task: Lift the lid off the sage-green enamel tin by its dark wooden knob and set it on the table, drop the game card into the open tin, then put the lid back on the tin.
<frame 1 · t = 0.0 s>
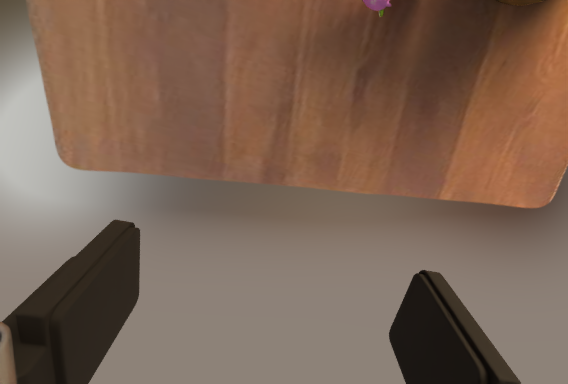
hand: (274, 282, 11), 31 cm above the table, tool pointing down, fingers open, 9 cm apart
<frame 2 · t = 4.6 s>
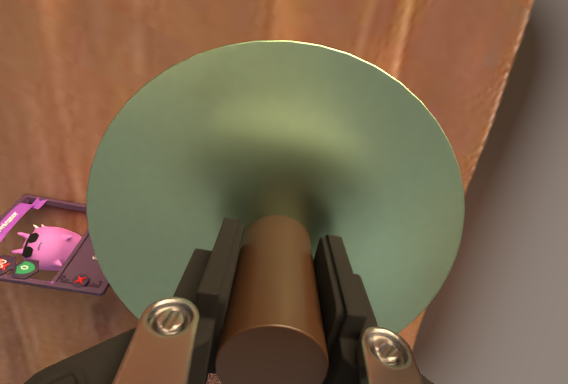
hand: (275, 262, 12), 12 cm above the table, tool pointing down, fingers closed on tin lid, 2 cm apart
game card: (89, 228, 25), on the table
tin lid: (276, 238, 13), point 11 cm above the table, touching gripper, tin
when the fingers open (2 cm above the table, at t = 11.6 s): tin lid stays where it is, point 1 cm above the table.
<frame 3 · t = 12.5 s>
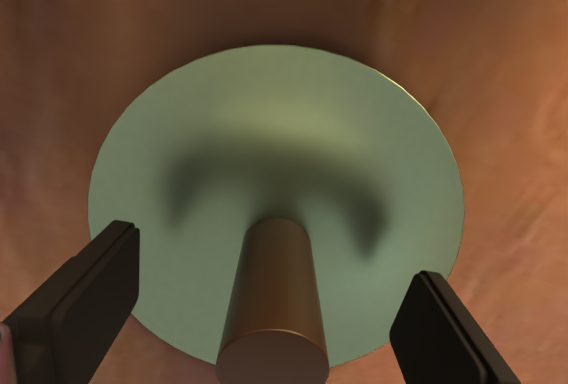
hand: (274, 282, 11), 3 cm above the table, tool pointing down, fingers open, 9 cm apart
tin lid: (276, 240, 13), point 1 cm above the table
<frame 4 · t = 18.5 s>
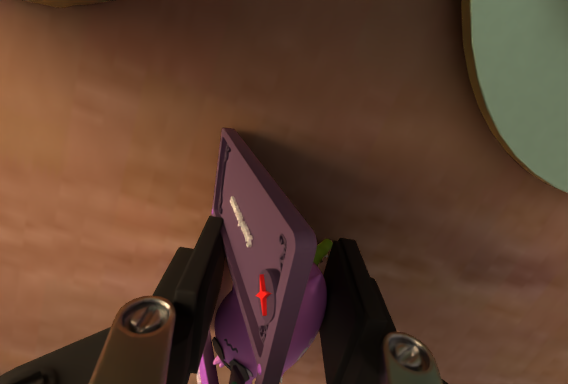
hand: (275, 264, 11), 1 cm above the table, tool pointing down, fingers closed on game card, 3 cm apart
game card: (268, 245, 13), on the table, touching gripper
when the fingers open (9 cm above the table, at t = 24.1 s): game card drops 8 cm, resting on tin.
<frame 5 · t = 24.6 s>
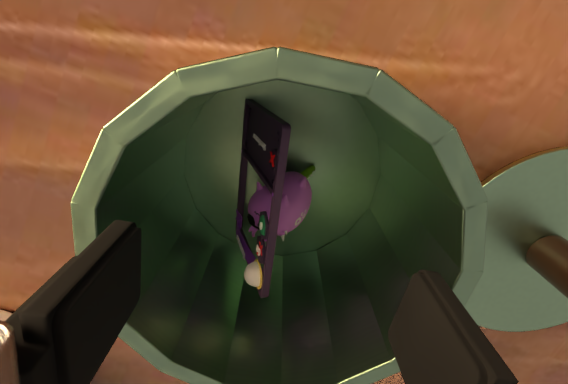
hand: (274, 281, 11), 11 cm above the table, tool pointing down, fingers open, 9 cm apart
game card: (276, 173, 20), resting on tin
tin lid: (541, 248, 22), point 1 cm above the table
tin: (282, 170, 21), on the table
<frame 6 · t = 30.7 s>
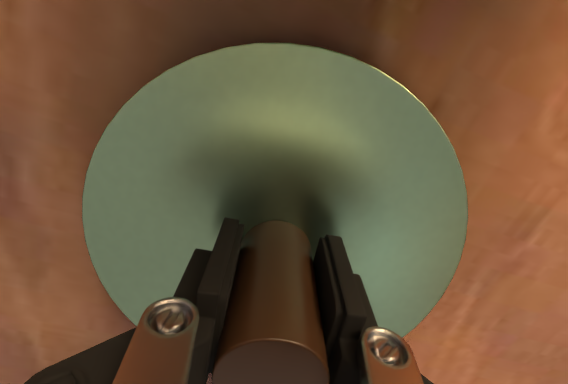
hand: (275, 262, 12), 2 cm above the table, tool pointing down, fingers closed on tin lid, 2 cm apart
tin lid: (276, 243, 13), point 1 cm above the table, touching gripper
when the fingers open (12 cm above the table, at t = 37.7 s): tin lid stays where it is, resting on tin.
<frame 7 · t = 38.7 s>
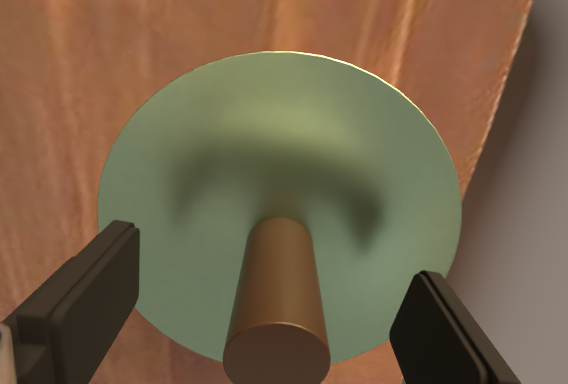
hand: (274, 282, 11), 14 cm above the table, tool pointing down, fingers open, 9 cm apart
tin lid: (279, 240, 14), point 10 cm above the table, touching tin
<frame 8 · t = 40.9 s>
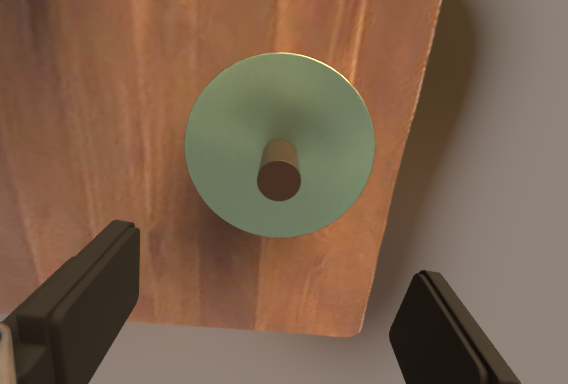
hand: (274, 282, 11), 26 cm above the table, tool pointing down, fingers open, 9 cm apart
tin lid: (279, 154, 25), point 10 cm above the table, touching tin
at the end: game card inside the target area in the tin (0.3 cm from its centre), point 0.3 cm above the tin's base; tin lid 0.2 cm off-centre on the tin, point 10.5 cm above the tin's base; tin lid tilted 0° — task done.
